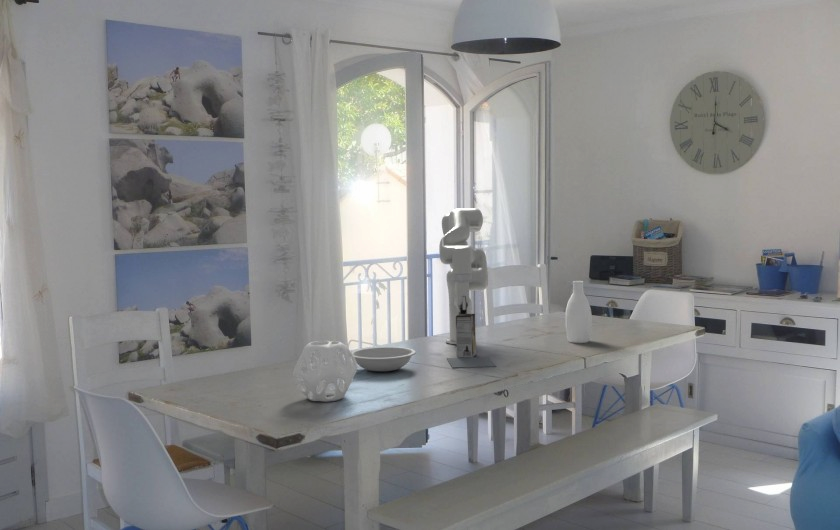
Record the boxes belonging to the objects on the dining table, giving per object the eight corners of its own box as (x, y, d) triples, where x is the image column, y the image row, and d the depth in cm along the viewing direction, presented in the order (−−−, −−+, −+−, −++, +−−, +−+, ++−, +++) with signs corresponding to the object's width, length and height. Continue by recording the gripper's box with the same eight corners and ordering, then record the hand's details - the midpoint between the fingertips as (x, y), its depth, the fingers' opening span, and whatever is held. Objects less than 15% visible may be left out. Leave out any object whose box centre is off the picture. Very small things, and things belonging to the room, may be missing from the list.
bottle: (590, 344, 353) (589, 282, 351) (563, 343, 357) (562, 282, 355) (593, 339, 364) (593, 280, 362) (567, 338, 367) (566, 279, 365)
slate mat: (446, 359, 326) (446, 358, 326) (488, 357, 327) (488, 356, 327) (452, 368, 308) (452, 367, 308) (496, 366, 309) (496, 365, 309)
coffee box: (460, 354, 336) (459, 313, 335) (476, 354, 334) (475, 313, 334) (456, 357, 327) (455, 315, 326) (472, 357, 325) (472, 315, 325)
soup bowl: (341, 367, 314) (341, 349, 314) (402, 362, 323) (402, 344, 322) (360, 379, 292) (360, 360, 291) (426, 373, 300) (425, 354, 300)
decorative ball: (288, 406, 255) (287, 349, 254) (298, 392, 275) (296, 338, 274) (355, 405, 255) (354, 347, 254) (360, 390, 275) (358, 337, 274)
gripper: (450, 276, 345) (451, 322, 346) (454, 279, 330) (455, 327, 331) (469, 276, 345) (469, 321, 346) (474, 279, 330) (474, 326, 331)
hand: (462, 324), depth 338 cm, fingers closed
